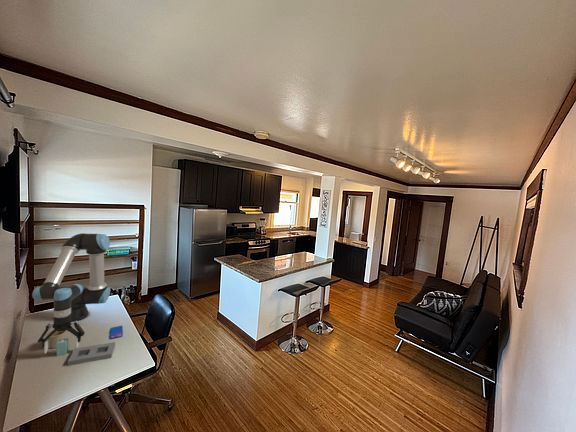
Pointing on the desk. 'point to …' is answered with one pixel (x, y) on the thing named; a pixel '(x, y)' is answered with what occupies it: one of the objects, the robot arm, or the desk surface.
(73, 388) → the desk surface
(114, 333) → the smartphone
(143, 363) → the desk surface
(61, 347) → the charger
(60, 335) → the flower pot
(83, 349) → the outlet plate
